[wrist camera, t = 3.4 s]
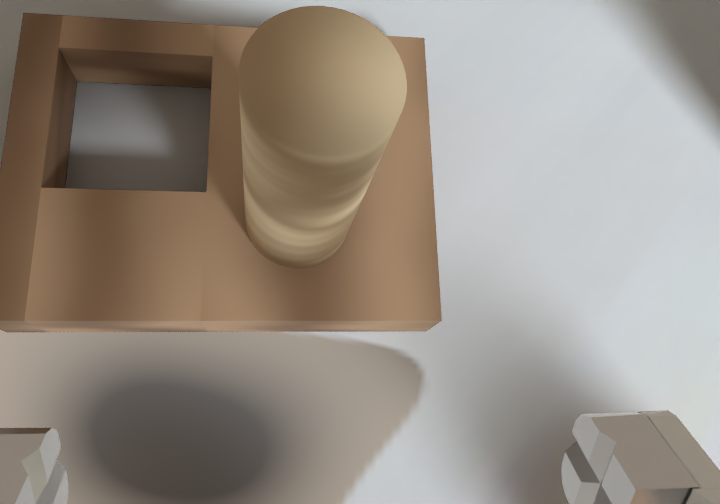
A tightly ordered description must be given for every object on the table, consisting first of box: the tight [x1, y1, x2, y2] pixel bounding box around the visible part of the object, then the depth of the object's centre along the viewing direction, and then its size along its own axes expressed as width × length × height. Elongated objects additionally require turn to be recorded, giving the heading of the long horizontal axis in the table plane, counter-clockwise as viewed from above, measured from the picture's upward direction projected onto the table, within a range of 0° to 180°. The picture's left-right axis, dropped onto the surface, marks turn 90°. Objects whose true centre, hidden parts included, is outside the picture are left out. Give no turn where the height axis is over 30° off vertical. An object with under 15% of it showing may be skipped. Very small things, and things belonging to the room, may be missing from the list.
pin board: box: [0, 13, 442, 332], centre depth 26 cm, size 16×12×2 cm
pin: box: [238, 6, 407, 268], centre depth 20 cm, size 4×4×10 cm
